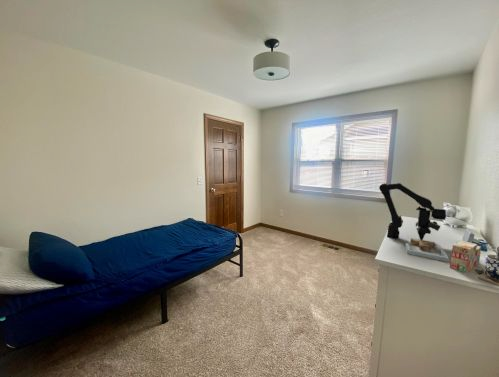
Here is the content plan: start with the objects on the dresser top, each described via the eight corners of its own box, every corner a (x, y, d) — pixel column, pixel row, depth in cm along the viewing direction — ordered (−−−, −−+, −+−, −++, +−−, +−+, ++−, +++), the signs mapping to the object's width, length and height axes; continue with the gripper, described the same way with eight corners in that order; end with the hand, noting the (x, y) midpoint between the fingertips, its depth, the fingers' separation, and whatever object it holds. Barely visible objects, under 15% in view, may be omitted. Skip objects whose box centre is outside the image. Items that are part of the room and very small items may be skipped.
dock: (406, 253, 123) (407, 250, 123) (405, 246, 134) (405, 243, 134) (448, 261, 113) (448, 258, 113) (443, 253, 124) (443, 250, 124)
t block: (411, 248, 131) (412, 243, 131) (410, 242, 141) (410, 238, 141) (437, 253, 124) (437, 248, 124) (433, 246, 134) (434, 242, 134)
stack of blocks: (463, 258, 118) (466, 237, 116) (479, 263, 112) (482, 241, 111) (449, 267, 107) (452, 244, 105) (466, 273, 101) (470, 248, 100)
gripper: (443, 222, 128) (439, 247, 129) (437, 216, 143) (434, 238, 145) (419, 219, 134) (416, 243, 136) (416, 214, 149) (414, 235, 151)
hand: (421, 239), depth 142 cm, fingers closed
